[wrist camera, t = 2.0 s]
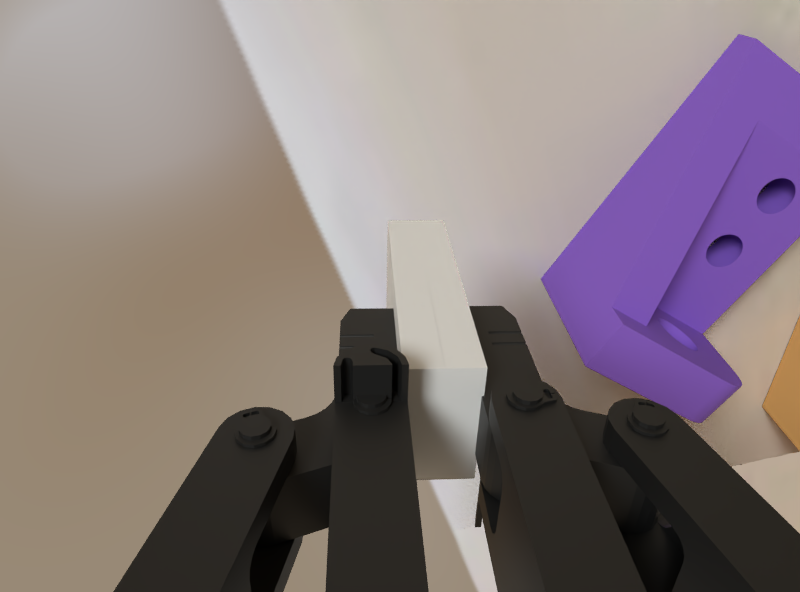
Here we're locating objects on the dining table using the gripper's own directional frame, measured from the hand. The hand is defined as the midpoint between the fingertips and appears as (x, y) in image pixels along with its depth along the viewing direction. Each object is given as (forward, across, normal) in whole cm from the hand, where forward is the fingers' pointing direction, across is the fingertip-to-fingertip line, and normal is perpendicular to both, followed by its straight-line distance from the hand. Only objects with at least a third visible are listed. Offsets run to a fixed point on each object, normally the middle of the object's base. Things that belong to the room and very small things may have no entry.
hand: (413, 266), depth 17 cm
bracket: (+9, +13, -2) cm, 16 cm away
